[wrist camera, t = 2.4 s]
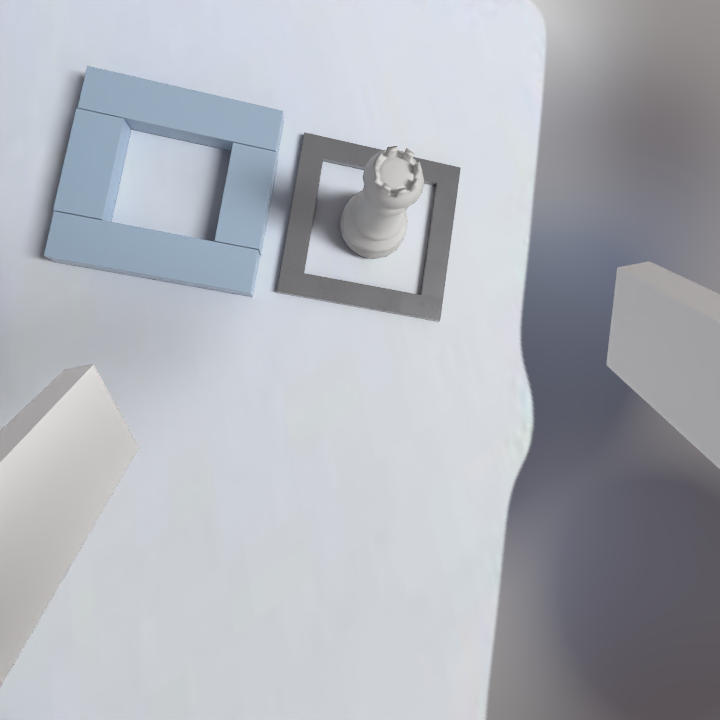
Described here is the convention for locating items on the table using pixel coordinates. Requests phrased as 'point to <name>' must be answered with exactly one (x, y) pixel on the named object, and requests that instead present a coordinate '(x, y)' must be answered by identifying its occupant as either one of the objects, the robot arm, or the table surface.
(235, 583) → the table surface
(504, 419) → the table surface
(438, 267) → the bezel
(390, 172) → the rook chess piece
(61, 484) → the robot arm
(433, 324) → the table surface
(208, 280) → the socket
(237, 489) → the table surface
